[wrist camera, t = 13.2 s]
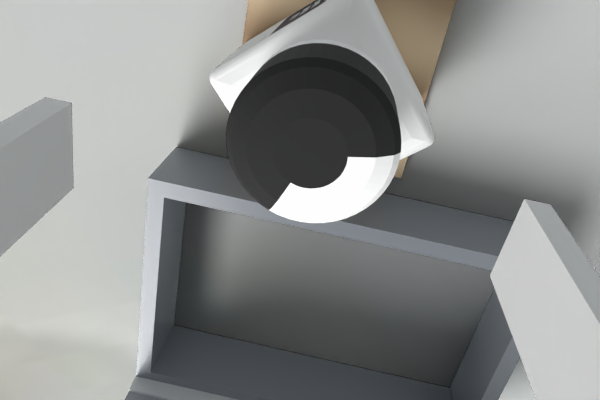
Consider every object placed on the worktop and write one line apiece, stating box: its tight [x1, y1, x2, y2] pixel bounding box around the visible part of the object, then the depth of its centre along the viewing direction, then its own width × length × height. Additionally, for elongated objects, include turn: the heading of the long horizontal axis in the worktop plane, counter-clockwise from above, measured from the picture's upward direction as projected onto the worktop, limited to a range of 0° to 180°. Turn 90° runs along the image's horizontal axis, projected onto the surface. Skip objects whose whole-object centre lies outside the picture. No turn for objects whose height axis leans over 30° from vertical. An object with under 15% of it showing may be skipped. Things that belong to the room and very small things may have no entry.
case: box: [125, 147, 520, 400], centre depth 30 cm, size 17×25×18 cm
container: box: [209, 0, 435, 223], centre depth 25 cm, size 8×8×13 cm
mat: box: [242, 0, 456, 178], centre depth 31 cm, size 11×11×1 cm
